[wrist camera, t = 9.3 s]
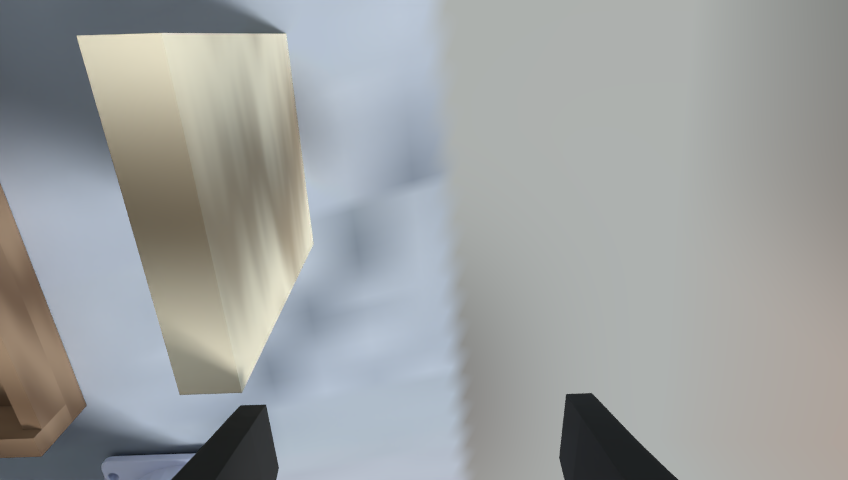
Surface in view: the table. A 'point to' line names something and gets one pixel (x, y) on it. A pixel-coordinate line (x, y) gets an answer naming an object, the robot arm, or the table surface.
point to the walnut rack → (29, 356)
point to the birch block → (207, 188)
